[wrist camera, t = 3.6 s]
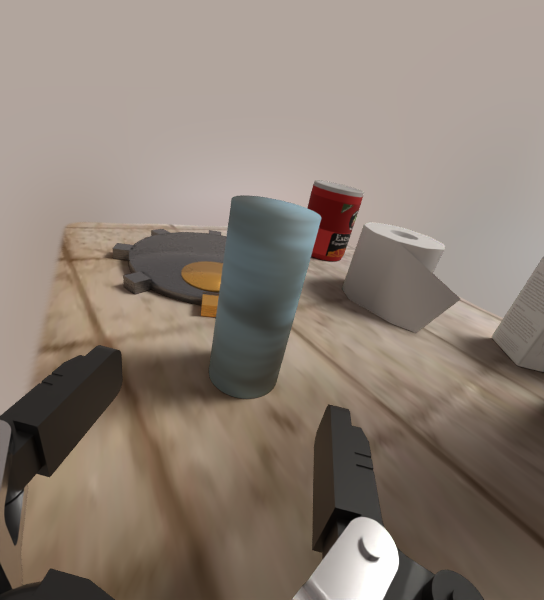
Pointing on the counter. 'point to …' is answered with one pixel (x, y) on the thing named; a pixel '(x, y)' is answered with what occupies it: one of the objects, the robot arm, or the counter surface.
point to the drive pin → (259, 292)
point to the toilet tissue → (398, 276)
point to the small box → (525, 324)
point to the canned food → (333, 217)
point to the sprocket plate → (177, 266)
